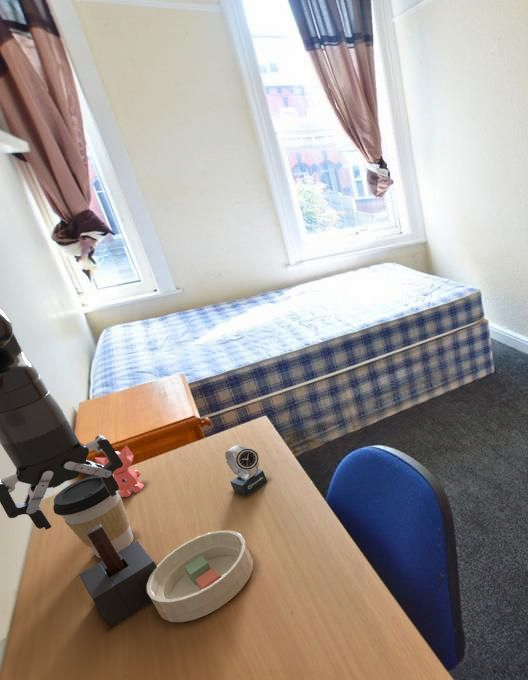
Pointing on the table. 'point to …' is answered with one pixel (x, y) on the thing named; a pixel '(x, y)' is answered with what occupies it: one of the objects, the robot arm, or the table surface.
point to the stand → (120, 584)
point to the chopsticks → (105, 549)
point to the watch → (245, 469)
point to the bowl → (185, 597)
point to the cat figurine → (124, 473)
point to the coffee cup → (94, 512)
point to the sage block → (197, 568)
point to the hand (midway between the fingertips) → (82, 509)
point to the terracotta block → (207, 578)
